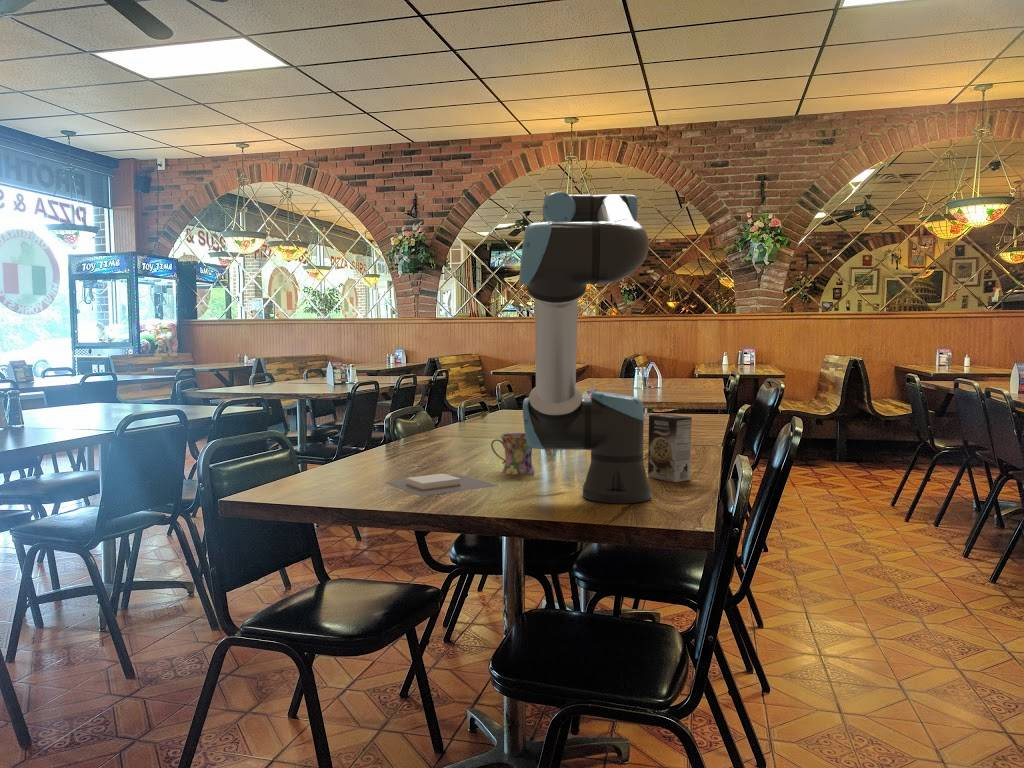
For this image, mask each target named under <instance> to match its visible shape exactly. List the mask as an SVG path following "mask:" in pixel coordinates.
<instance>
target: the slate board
mask: <svg viewBox="0 0 1024 768" xmlns="http://www.w3.org/2000/svg"><path fill="white" fill-rule="evenodd" d="M449 475H450V476H454V477H457V478H460V479H461V485H460V486H452V487H445V488H437V489H430V490H420V489H417V488H414V487H411V486H409V485H406V479H405V480H404V479H403V480H397V481H396V480H395V481H389V482H388V481H387V482H386V484H387V485H389V486H393V487H395V488H399V489H401V490H404V491H406V492H409V493H412V494H415V495H418V496H419V497H425V496H426V497H427V496H433V495H434V496H435V495H440V494H447V493H455V492H456V493H457V492H462V491H467V490H475V489H482V488H483V489H484V488H489V487H496V486H497V487H498V485H497V484H493V483H491V482H488V481H483V480H479V479H477V478H475V477H474V478H473V477H470V476H465V475H462V474H459V473H451V474H449Z"/></svg>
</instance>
